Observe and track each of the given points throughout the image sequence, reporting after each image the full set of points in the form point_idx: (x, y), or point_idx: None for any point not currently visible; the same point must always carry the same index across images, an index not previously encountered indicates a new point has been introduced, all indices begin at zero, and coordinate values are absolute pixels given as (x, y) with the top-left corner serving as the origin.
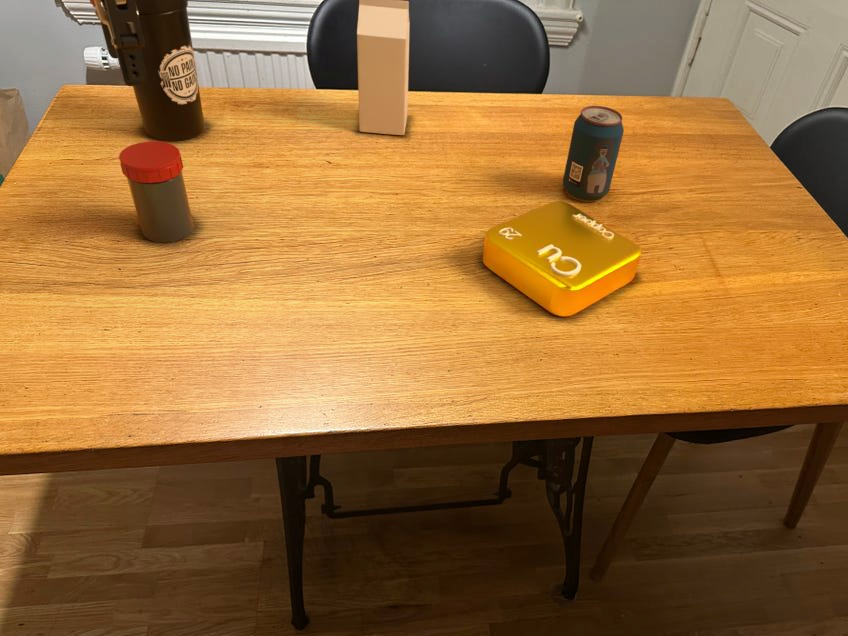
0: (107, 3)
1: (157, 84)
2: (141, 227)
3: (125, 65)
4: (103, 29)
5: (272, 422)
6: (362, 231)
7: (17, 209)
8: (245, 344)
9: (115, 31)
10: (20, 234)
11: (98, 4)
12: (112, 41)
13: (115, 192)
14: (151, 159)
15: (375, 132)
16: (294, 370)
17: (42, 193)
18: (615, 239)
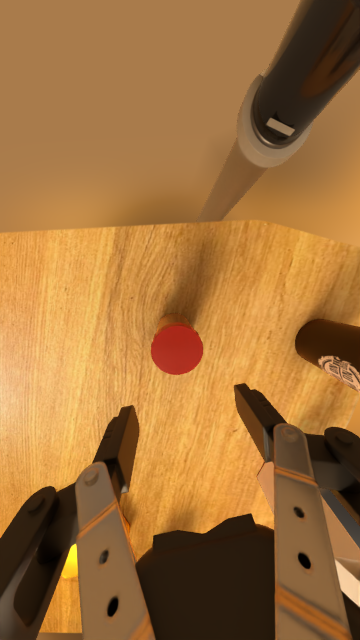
0: None
1: (338, 353)
2: (168, 315)
3: (106, 440)
4: (255, 416)
5: None
6: (147, 437)
7: (225, 227)
8: (41, 364)
9: None
10: (189, 231)
11: (80, 598)
12: (84, 479)
13: (232, 296)
14: (166, 352)
15: (265, 463)
16: (14, 386)
17: (244, 245)
18: (77, 570)
